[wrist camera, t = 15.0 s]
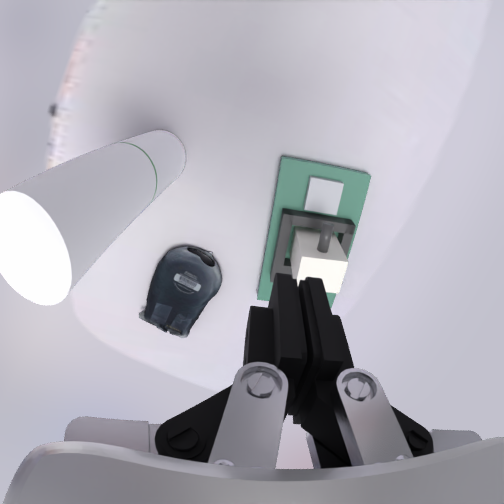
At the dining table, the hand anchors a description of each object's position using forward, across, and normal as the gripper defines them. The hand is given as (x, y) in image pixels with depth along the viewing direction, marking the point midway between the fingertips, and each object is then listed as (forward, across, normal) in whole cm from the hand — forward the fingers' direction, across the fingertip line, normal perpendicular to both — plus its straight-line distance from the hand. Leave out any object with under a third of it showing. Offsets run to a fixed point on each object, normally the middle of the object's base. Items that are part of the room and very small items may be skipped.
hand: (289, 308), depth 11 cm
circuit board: (+27, -6, +9) cm, 29 cm away
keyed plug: (+26, -6, +8) cm, 28 cm away
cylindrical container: (+27, +14, +1) cm, 31 cm away
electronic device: (+28, +10, +20) cm, 36 cm away
